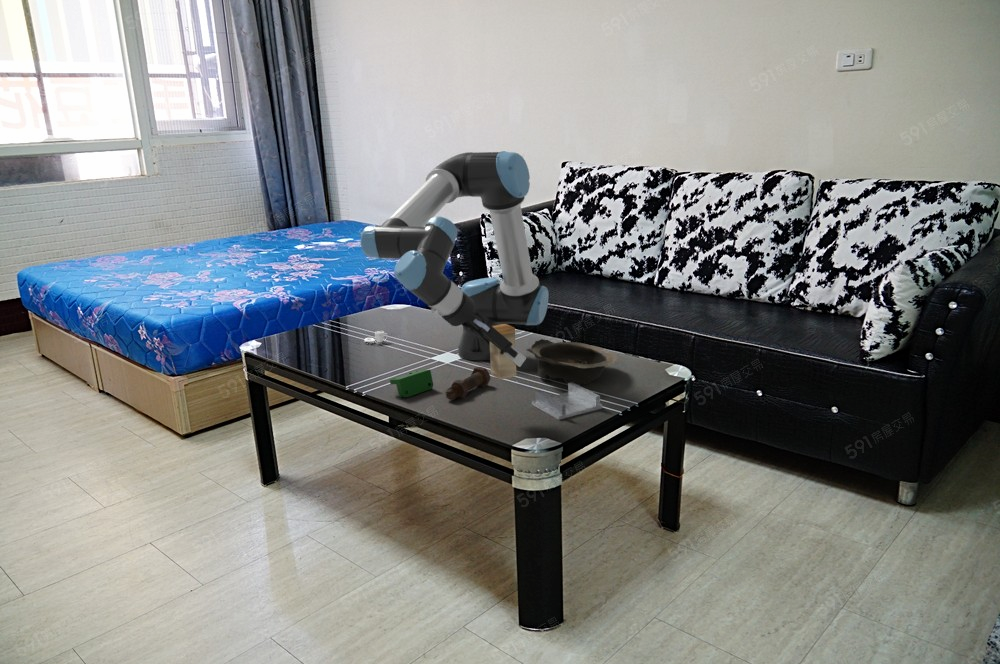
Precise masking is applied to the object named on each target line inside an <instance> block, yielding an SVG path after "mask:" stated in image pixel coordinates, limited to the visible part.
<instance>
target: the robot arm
mask: <svg viewBox="0 0 1000 664" xmlns="http://www.w3.org/2000/svg"><path fill="white" fill-rule="evenodd" d="M530 183H531V182H530V172H529V168H528V164H527V162H526V160H525V158H524V157H523V156H522V155H521V154H520V153H517V152H515V151H514V152H513V151H511V152H509V151H503V150H501V151H490V152H488V151H487V152H485V151H484V152H483V151H482V152H480V151H479V152H476V151H475V152H470V151H469V152H468V151H467V152H463V153H460V154H456V155H454V156H451V157H449V158H448V159H445V160H444V161H443V162H441V163H439V164H438V165H437V166H435V167H434V168H433V169H432V170H431V171H430V172H428V174H427V175H426V178H425V182H424V183H423V184H422V185H421V186H420V187H419V188H418V189H417V190H416V191H415V192H414V193H413V194H412V195H411V196H410V197H409V198H408V199H407V200H405V201H404V203H403V204H402V205H400V206H399V207H398V209H397V210H395V211H394V212H393V213H392V214H391V215H390V216H389V217H388V218H387V219H386V220H385V221H384V222H383V223H382V224H380V225H377V224H374V225H368V226H366V227H364V228H363V230H362V232H361V235H360V246H361V251H362V253H363V254H364V255H365V256H366V257H368V258H373V259H374V258H375V259H379V260H382V259H385V260H386V259H387V260H398V261H397V262H396V264H395V266H394V268H393V269H394V270H393V274H394V277H395V279H396V280H397V281H398V282H399V283H400V284H401V285H403V286H404V289H406V290H408V291H409V292H410V293H412V294H413V295H414V296H416V297H417V298H418V299H419V300H420V301H422V302H423V303H424V304H425V305H427V306H428V307H429V308H430V312H431V313H435V312H436V313H437V314H438V315H439V316H441V318H442V319H444V320H445V321H446V322H447V323H448V324H449V325H451V326H452V327H458V326H462V334H461V337H460V340H459V344H458V346H457V348H458V349H457V350H458V352H457V353H458V356H459V357H460V358H462V359H465V360H468V361H490V342H491V343H493V344H494V345H495V346H496V347H498V348H499V349H500V350H501V352H500V354H501V355H503V354H504V355H506V356H507V357H508V358H509V359H510V360H511V361H513V362H514V363H515V364H516V367H519V368H521V366H522V365H523V364H524V362H525V361H526V359H527V357H526V356H525V355H524V354H523V353H521V352H520V351H519V350H518V349H517V348H514V347H513V346H512V345H513V344H512V343H511V342H509V341H508V340H507V339H506V338H505V337H504V336H503V335H501V334H500V333H499V332H498V331H497V330H496V329H495V328H493V327H492V326H496V325H501V324H513V325H514V324H515V325H525V326H538V325H540V324H541V323H542V322H543V321H544V319H545V317H546V314H547V311H548V307H549V306H548V305H549V289H548V288H547V287H546V286H544V285H540V281H539V278H538V276H536V275H535V274H533V271H532V270H533V269H532V264H531V263H532V262H531V258H530V252H529V246H528V242H527V241H528V240H527V234H526V229H525V224H524V219H523V218H524V217H523V213H522V207H521V206H522V203H523V202H524V201H525V199H526V196H527V195H528V193H529V190H530V185H531V184H530ZM464 197H473V198H474V197H476V198H480V199H481V202H482V206H483V208H485V209H486V210H488V211H489V214H490V219H491V224H492V229H493V233H494V234H493V235H494V240H495V244H496V245H495V246H496V249H497V254H498V258H499V259H498V260H499V264H500V269H501V274H502V280H501V281H500V280H499V278H497V277H484V278H479V279H474V280H470V281H466V282H465V283H464V284H463V285H462V286H461V288H460V287H459V286H458V285H457V284H455V283H454V282H453V280H452V279H450V278H448V277H447V276H446V274H444V272H445V271H444V270H445V267H446V266H447V262H448V260H449V259H450V256H451V254H452V250H453V249H454V247H455V243H456V240H457V237H458V229H457V227H456V225H455V223H454V222H452V220H450V219H448V218H446V217H443V216H436V215H437V214H438V213H439V211H441V210H442V209H443V207H444V206H446V204H450V203H452V202H454V201H455V200H457V198H464Z"/></svg>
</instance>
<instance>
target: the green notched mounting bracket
mask: <svg viewBox="0 0 1000 664" xmlns="http://www.w3.org/2000/svg"><path fill="white" fill-rule="evenodd" d="M389 382H390V385H396V389H397V394H398V396H399V397H400V396H401V397H400V398H409V397H412V396H415V395H417V394H420V393H423V392H427V391H429V390H432V389H433V388H434V381H433V376H432V372H431V369H418V370H414V371H412V372H409V374H407V375H403V376H395V377H392V378H390V379H389Z"/></svg>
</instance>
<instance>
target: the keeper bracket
mask: <svg viewBox="0 0 1000 664" xmlns="http://www.w3.org/2000/svg"><path fill="white" fill-rule="evenodd" d="M567 386H568V388H567V389H568V391H567V392H562V393H559V394H555V395H551V396H550V395H548V394H547V393H545V392H542V391H540V390H539V389H538V390H535V392H534V394H535V398H534V399H535V400H532V401H531V405H532V406H534V407H535V408H538V409H539V410H541V411H542V412H544V413H545V414H547V415H549V416H551V417H553V418H554V419H556V420H559V421H560V420H564V419H568V418H571V417H575V416H579V415H582V414H587V413H591V412H595V411H597V410H601V409H603V404H602V403H601V395H599V394H598V393H596V392H594V391H591V390H589V389H587V388H585V387H582V386H580V385H577V384H575V383H573V382H571V383H568V384H567Z"/></svg>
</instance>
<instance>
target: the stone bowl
mask: <svg viewBox="0 0 1000 664" xmlns="http://www.w3.org/2000/svg"><path fill="white" fill-rule="evenodd" d="M526 352H529V353H531V354H532V355H533V356H534V357H535V358H536V359H537V360H538V363H537V375H538V377H539V378H541V379H542V380H554V379H563V381H564V382H565V383H566V384H567V385H568V383H571V382H573V383H575V384H577V385H579V386H580V385H582V384H583V385H587V384H590V383H592V382H593V381H596V380H598V379H600V377H601V375H602V374H603V372H604V370H605V368H606V367H608V366H610V365H614V364H616V363H617V359H618V357H617V355H616V354H615V353H614V352H613V351H610V350H608V349H605V348H603V347H600V346H596V345H590V344H587V343H585V342H584V343H582V342H575V341H567V342H566V341H565V342H562V341H561V342H553V341H551V340H549V339H543V338H541V339H539V340H535V342H534V343H533V344H532V345H531V348H527V349H526Z"/></svg>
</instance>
